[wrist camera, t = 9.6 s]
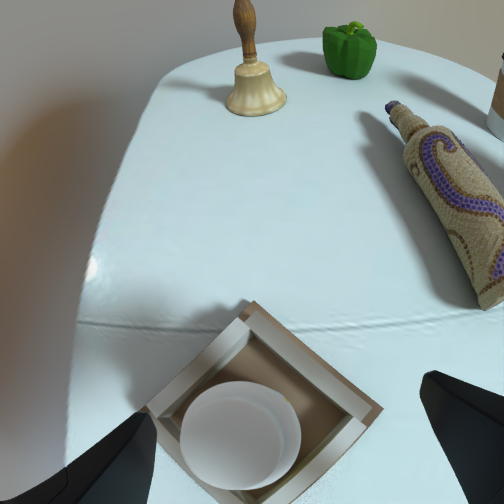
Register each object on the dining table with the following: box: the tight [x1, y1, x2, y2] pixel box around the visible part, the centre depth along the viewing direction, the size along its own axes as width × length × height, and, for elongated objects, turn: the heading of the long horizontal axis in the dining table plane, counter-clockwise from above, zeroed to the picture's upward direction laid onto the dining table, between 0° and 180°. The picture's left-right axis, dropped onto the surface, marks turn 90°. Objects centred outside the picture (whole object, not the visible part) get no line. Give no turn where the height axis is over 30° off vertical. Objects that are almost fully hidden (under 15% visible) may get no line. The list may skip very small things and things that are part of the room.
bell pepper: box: [323, 21, 377, 79], centre depth 35 cm, size 8×8×10 cm
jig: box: [139, 301, 384, 504], centre depth 18 cm, size 13×13×4 cm
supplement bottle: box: [180, 381, 301, 490], centre depth 14 cm, size 6×6×10 cm
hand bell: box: [226, 0, 287, 116], centre depth 30 cm, size 8×8×16 cm
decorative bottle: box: [385, 100, 504, 311], centre depth 23 cm, size 26×8×7 cm, turn 12°
